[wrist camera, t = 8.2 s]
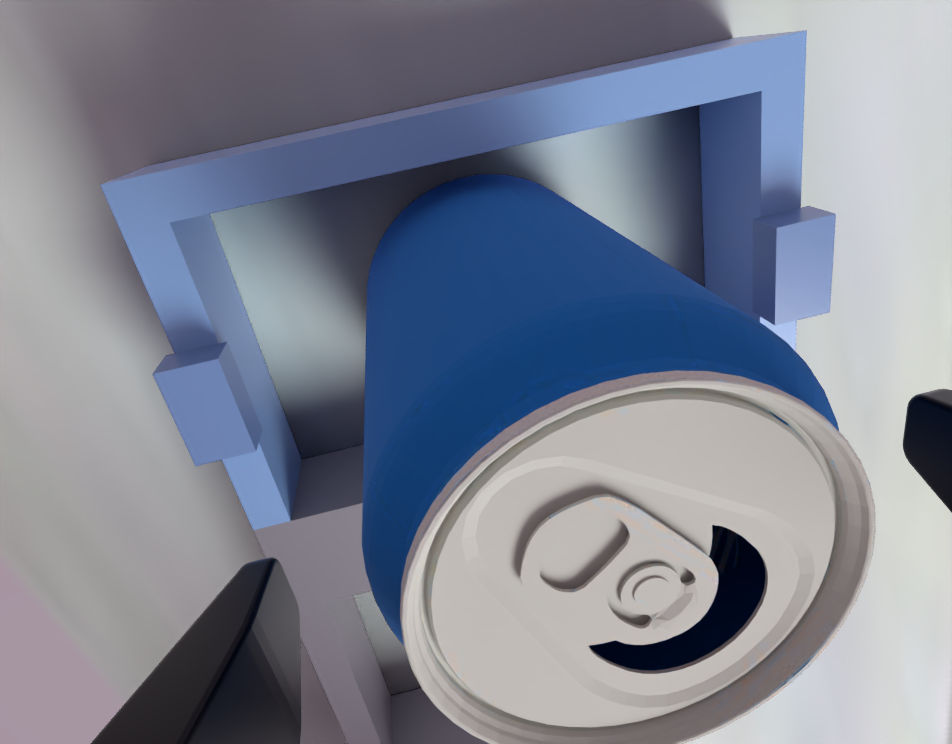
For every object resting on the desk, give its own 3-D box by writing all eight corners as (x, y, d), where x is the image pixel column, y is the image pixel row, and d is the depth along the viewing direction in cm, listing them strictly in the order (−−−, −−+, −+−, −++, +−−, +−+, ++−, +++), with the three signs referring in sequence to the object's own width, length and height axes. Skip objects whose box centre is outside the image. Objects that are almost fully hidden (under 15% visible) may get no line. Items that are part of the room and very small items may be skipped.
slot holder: (744, 620, 26) (806, 709, 22) (366, 721, 25) (366, 830, 21) (742, 36, 16) (847, 25, 13) (138, 167, 15) (69, 194, 12)
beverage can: (497, 427, 20) (644, 834, 9) (320, 313, 18) (240, 680, 7) (638, 264, 18) (1009, 527, 8) (464, 115, 16) (650, 193, 5)
